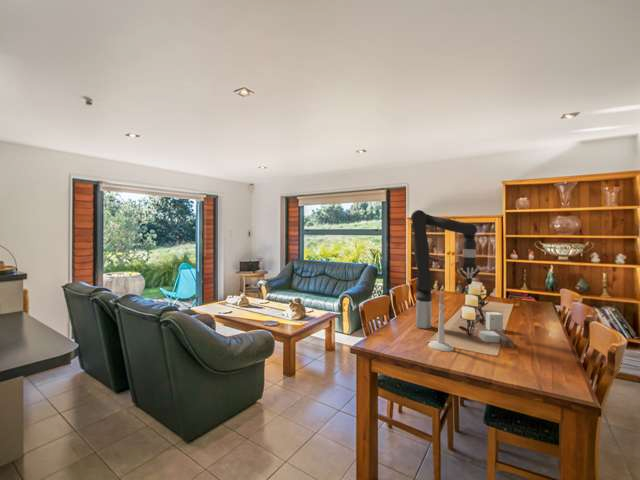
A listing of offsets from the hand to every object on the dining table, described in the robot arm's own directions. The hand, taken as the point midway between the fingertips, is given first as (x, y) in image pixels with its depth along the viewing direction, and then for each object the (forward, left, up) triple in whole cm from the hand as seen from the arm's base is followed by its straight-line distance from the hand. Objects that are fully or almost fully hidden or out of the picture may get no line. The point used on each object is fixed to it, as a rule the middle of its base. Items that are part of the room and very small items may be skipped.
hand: (468, 284), depth 192 cm
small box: (+17, +4, -29) cm, 34 cm away
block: (+6, -16, -29) cm, 34 cm away
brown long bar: (+12, -16, -29) cm, 35 cm away
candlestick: (-24, -31, -29) cm, 49 cm away
